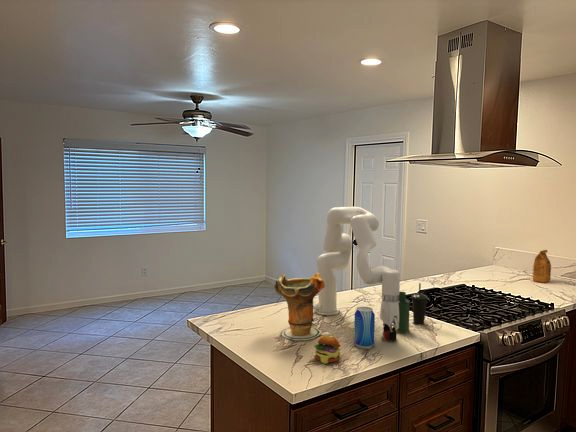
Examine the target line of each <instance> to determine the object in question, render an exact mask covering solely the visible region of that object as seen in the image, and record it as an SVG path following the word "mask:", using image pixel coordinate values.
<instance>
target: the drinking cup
mask: <svg viewBox="0 0 576 432" xmlns="http://www.w3.org/2000/svg"><path fill="white" fill-rule="evenodd" d="M421 285H422V284H421V283H420V282H419V283H418V292H417V293H416V292H415V293H413V294H411V301H412V317H413V318H412V319H413V324H414V325H416V326H417V325H418V326H423V325H425V318H426V311H427V302H428V298H429V296H428V295H426V294H424V293H421V288H422V286H421Z"/></svg>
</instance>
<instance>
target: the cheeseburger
mask: <svg viewBox="0 0 576 432" xmlns="http://www.w3.org/2000/svg"><path fill="white" fill-rule="evenodd" d="M313 347H314V350H315V358H316V359H317V360H318V361H320V362H321V364H328V363H333V362H337V361H339V359H340V356H341V349H340V347H342V346H341V344H340V341H339V339H338V338H337V337H333V336H329V335H321V336H320V337H319V338H318V339H317V344H314V346H313Z"/></svg>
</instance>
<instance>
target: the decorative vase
mask: <svg viewBox="0 0 576 432" xmlns="http://www.w3.org/2000/svg"><path fill="white" fill-rule="evenodd" d="M324 286H325V284H324V281H323V280H322V279H321V278H320V274H319V273H318V272H315V274H313V276H311V277H296V278H295V277H293V278H288V279H287V278H286V274H281V275H280V276H279V278H278V279H276V280H275V284H274V286H273V288H274V292H275V293H276V294H278V295H280V296H282V298H284V299H285V301H286V304H287V311H288V319H287V320H288V321H287V322H288V325H289V327H288V328H286V329H285V330H283V331H282V333H281V335H282V336H281V337H284V338H285V339H289V340H293V341H307V340H312V339H315V338H316V337H319V336H320V335H321V332H322V331H321V330H320V329H319V328H317V327H313V322H315V319H314V309H313V305H314V298H315V297H316V296H317V294H319V292H320V291H321V289H322V288H324ZM315 325H317V323H316V322H315Z"/></svg>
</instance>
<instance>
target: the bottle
mask: <svg viewBox="0 0 576 432" xmlns="http://www.w3.org/2000/svg"><path fill="white" fill-rule="evenodd" d="M398 304H399V324H398V325H399V328H398V330H397V333H400V334H405V333H409V332H410V308H411V307H410V304H411V301H410V300H409V299H407V293H406V291H399V302H398ZM392 324H394V323H392ZM393 327H394V326H392V328H393Z"/></svg>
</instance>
